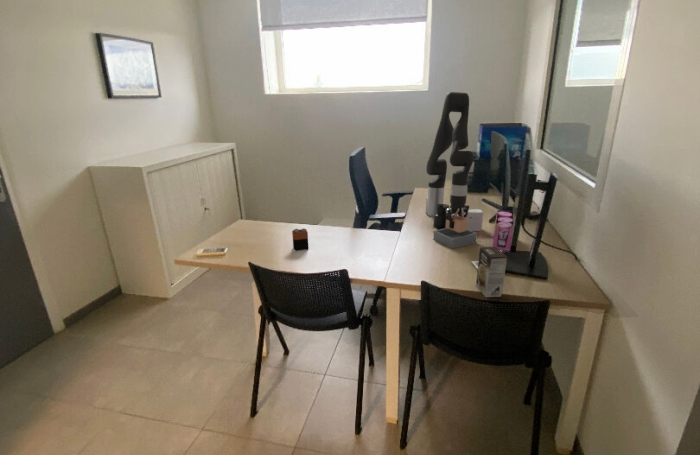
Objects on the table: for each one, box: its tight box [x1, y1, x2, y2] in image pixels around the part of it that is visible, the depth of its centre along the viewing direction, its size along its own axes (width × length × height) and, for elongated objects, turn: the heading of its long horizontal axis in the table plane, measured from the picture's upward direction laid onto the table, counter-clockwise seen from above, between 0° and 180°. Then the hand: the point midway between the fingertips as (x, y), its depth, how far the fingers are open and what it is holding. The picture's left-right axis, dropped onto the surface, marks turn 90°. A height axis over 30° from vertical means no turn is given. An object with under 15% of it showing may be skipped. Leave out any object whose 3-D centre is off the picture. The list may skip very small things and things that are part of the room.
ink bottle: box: [432, 203, 450, 230], centre depth 205 cm, size 10×9×12 cm
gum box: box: [491, 209, 515, 252], centre depth 181 cm, size 24×8×14 cm, turn 157°
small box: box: [465, 208, 484, 232], centre depth 201 cm, size 8×6×10 cm
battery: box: [291, 228, 309, 252], centre depth 179 cm, size 4×7×10 cm, turn 105°
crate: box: [432, 228, 478, 249], centre depth 187 cm, size 13×15×5 cm
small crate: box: [446, 214, 467, 233], centre depth 184 cm, size 9×5×6 cm, turn 30°
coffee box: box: [475, 246, 508, 298], centre depth 138 cm, size 9×6×16 cm
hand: (455, 227), depth 185 cm, fingers closed on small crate, 5 cm apart
